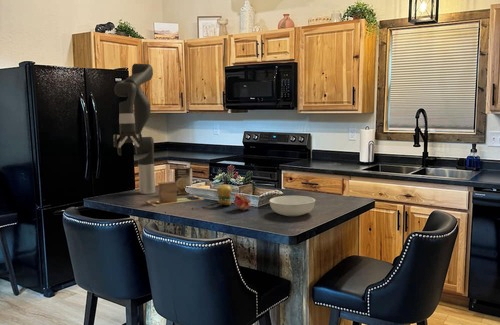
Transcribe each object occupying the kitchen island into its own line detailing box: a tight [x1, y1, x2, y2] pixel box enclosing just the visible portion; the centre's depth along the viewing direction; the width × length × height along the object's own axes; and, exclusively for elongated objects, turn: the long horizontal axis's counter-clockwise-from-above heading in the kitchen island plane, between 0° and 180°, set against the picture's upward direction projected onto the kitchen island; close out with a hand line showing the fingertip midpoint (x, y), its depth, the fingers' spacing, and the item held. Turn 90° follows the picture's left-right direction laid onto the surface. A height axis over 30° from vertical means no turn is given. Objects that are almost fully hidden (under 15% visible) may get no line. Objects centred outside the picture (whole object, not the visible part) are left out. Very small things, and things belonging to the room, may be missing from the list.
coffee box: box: [174, 166, 193, 195], centre depth 257 cm, size 9×6×16 cm
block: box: [157, 180, 178, 204], centre depth 233 cm, size 5×8×10 cm, turn 121°
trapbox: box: [145, 194, 206, 207], centre depth 236 cm, size 14×27×2 cm, turn 121°
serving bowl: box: [269, 195, 316, 217], centre depth 208 cm, size 21×21×7 cm
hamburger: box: [216, 183, 233, 206], centre depth 228 cm, size 8×7×12 cm
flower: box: [232, 193, 253, 211], centre depth 219 cm, size 10×9×8 cm
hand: (128, 154), depth 229 cm, fingers open, 8 cm apart
